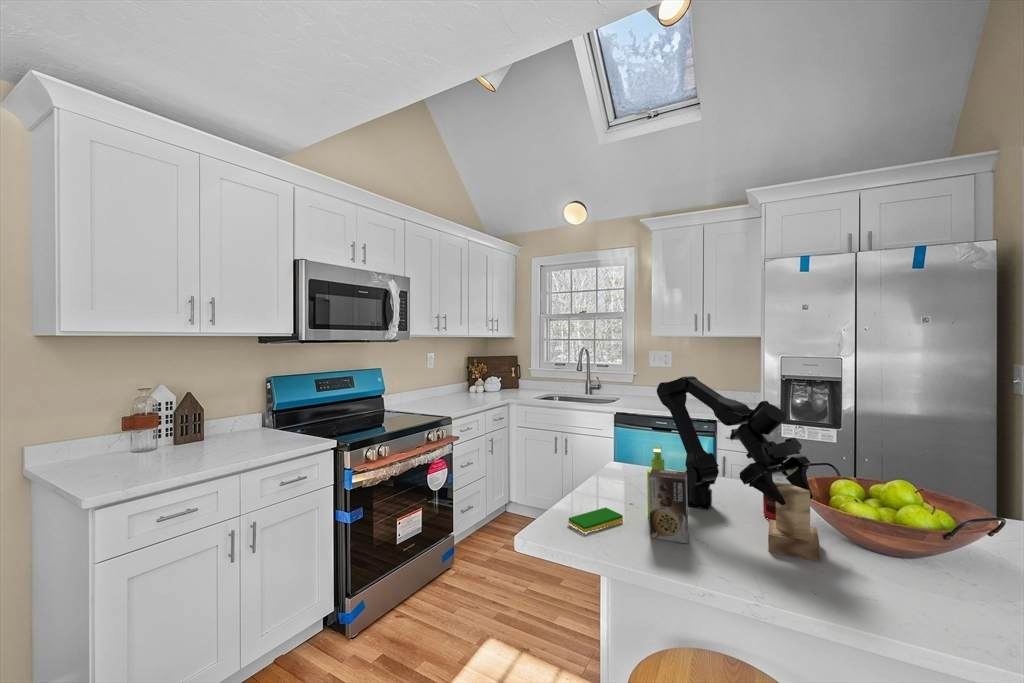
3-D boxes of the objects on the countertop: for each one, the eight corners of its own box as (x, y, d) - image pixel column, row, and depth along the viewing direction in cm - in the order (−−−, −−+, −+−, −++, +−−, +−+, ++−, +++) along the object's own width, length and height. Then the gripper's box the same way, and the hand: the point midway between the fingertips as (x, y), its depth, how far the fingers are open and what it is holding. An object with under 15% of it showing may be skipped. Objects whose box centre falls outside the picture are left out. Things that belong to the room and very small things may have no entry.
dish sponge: (623, 524, 123) (623, 515, 123) (584, 536, 116) (584, 527, 116) (605, 515, 129) (605, 506, 129) (567, 526, 122) (567, 517, 122)
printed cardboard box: (689, 533, 115) (688, 471, 115) (687, 544, 109) (686, 479, 109) (652, 528, 119) (651, 467, 119) (648, 538, 113) (648, 474, 113)
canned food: (786, 512, 127) (785, 474, 127) (801, 524, 119) (801, 483, 119) (758, 512, 128) (757, 474, 128) (771, 524, 120) (771, 483, 120)
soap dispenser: (646, 521, 123) (645, 449, 123) (648, 512, 130) (647, 443, 129) (668, 524, 121) (668, 451, 121) (670, 514, 127) (669, 445, 127)
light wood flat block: (768, 551, 105) (768, 533, 105) (769, 534, 114) (769, 518, 114) (819, 561, 100) (819, 543, 100) (816, 543, 108) (816, 526, 108)
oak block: (775, 528, 108) (775, 487, 108) (790, 524, 110) (789, 484, 110) (795, 536, 104) (795, 493, 103) (810, 532, 105) (809, 490, 105)
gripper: (749, 430, 107) (793, 491, 97) (802, 423, 114) (849, 479, 103) (722, 455, 114) (761, 513, 104) (774, 447, 121) (815, 501, 111)
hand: (798, 501), depth 105 cm, fingers open, 9 cm apart
